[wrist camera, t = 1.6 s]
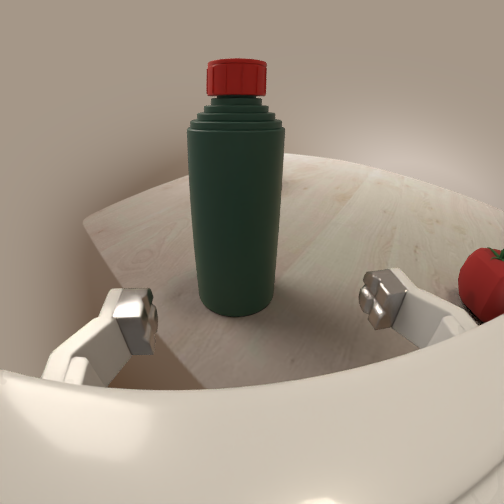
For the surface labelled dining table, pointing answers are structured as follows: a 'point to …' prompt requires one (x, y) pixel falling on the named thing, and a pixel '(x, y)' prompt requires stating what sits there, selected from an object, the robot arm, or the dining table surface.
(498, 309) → the tomato
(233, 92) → the cap
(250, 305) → the bottle
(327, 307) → the dining table surface
